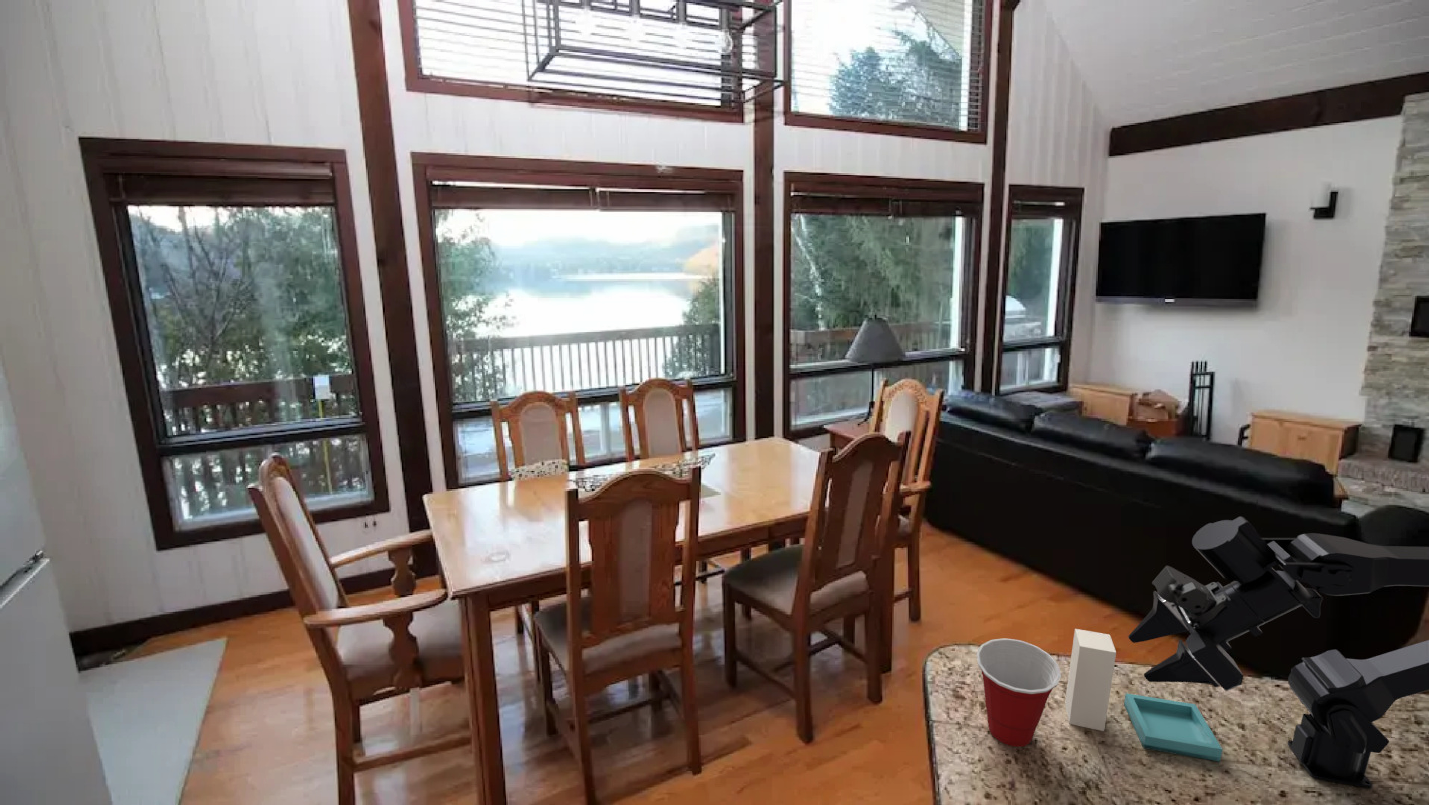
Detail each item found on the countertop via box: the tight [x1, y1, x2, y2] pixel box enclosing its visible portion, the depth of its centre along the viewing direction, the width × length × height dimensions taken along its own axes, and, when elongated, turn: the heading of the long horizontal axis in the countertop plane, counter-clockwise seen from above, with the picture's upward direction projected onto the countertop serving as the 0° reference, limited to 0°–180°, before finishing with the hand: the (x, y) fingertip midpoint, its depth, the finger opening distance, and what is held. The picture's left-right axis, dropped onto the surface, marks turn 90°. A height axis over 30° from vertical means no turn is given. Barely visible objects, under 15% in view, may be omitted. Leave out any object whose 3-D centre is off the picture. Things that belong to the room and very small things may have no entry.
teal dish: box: [1123, 692, 1223, 763], centre depth 93 cm, size 9×9×2 cm
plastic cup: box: [976, 637, 1062, 748], centre depth 92 cm, size 11×11×12 cm
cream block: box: [1064, 628, 1117, 732], centre depth 95 cm, size 4×4×13 cm
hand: (1137, 658), depth 92 cm, fingers open, 9 cm apart
